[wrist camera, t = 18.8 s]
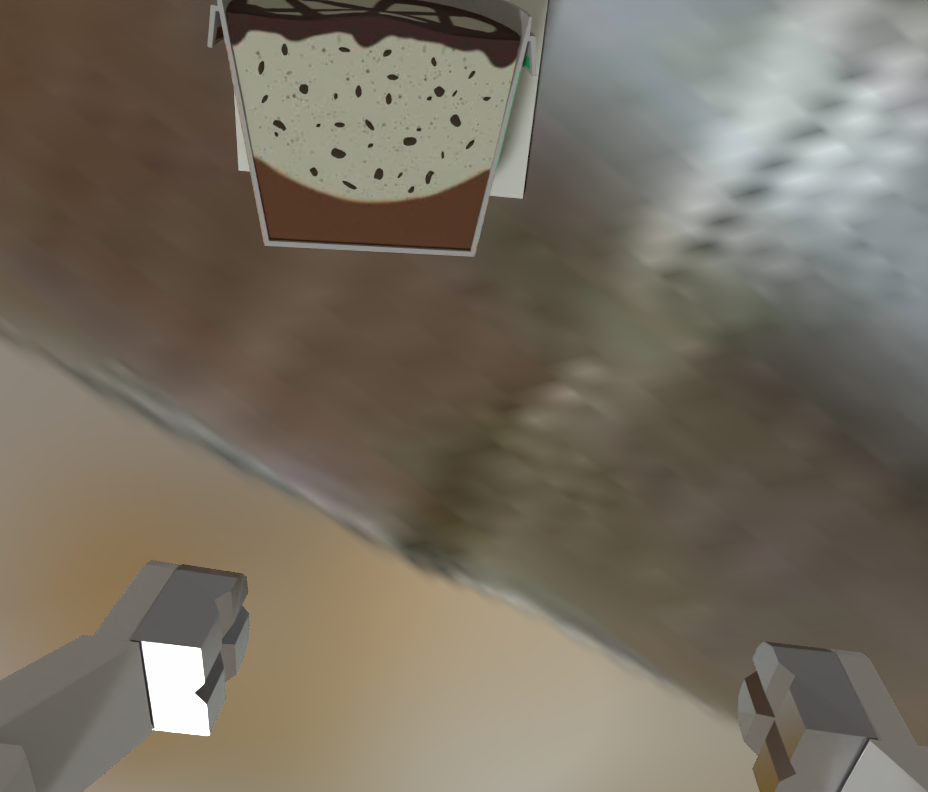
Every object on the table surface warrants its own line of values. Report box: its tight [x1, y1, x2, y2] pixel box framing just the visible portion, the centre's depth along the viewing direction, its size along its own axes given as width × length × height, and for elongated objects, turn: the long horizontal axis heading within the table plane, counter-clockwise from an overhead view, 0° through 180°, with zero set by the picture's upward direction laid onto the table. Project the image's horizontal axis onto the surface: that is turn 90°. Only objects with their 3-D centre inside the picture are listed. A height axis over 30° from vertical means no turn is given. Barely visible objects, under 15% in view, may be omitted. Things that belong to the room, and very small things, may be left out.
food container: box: [207, 0, 537, 257], centre depth 31 cm, size 12×6×10 cm
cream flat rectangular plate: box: [234, 0, 548, 199], centre depth 32 cm, size 14×12×1 cm
